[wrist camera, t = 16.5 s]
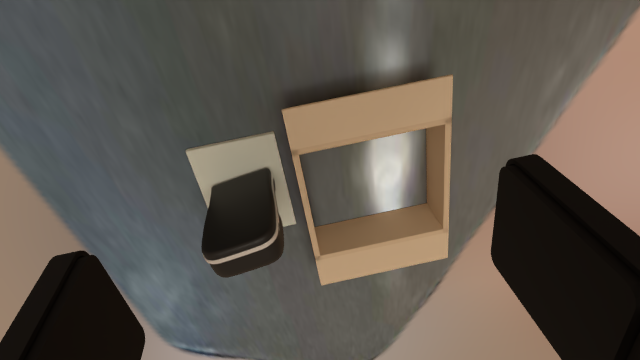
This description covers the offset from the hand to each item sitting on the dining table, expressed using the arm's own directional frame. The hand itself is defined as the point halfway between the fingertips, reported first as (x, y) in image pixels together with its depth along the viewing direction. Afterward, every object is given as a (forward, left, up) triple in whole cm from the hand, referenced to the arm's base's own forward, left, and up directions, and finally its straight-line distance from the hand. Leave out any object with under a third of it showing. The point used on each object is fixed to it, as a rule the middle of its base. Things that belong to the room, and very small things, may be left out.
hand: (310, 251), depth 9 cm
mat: (+7, +17, -30) cm, 35 cm away
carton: (-7, +18, -30) cm, 36 cm away
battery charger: (+6, +17, -30) cm, 35 cm away
